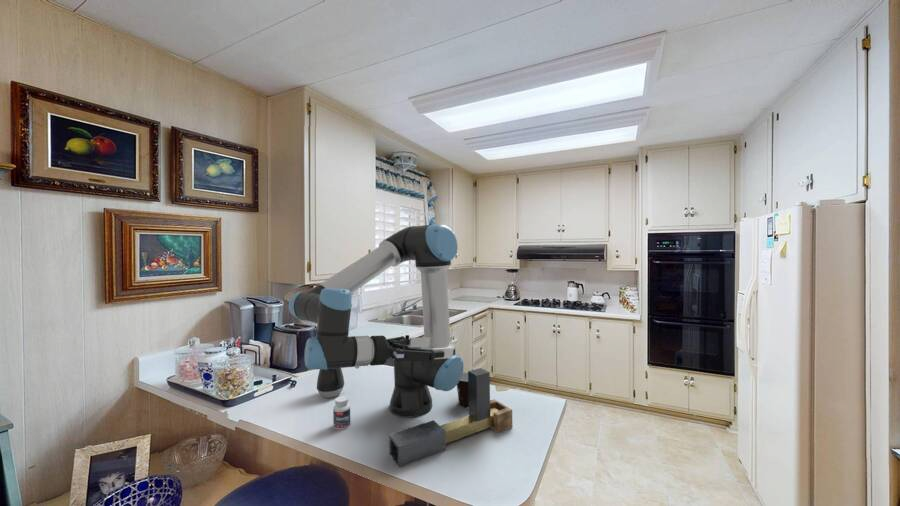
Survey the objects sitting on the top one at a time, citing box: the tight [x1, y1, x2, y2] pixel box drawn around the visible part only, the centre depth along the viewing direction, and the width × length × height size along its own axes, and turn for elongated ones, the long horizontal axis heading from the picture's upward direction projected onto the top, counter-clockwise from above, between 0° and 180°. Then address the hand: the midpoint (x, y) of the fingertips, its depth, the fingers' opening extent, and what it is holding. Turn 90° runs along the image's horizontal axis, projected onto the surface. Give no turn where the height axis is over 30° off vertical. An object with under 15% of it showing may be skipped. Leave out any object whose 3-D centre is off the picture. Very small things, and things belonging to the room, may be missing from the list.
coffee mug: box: [456, 371, 469, 409], centre depth 124 cm, size 12×9×10 cm
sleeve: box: [388, 420, 447, 468], centre depth 94 cm, size 14×7×6 cm, turn 121°
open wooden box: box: [489, 398, 514, 434], centre depth 109 cm, size 6×9×6 cm, turn 31°
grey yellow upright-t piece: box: [439, 367, 499, 444], centre depth 103 cm, size 24×4×17 cm, turn 121°
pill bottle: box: [332, 395, 351, 431], centre depth 109 cm, size 5×5×9 cm
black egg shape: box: [316, 368, 345, 399], centre depth 132 cm, size 10×10×15 cm
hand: (440, 346), depth 99 cm, fingers open, 13 cm apart
